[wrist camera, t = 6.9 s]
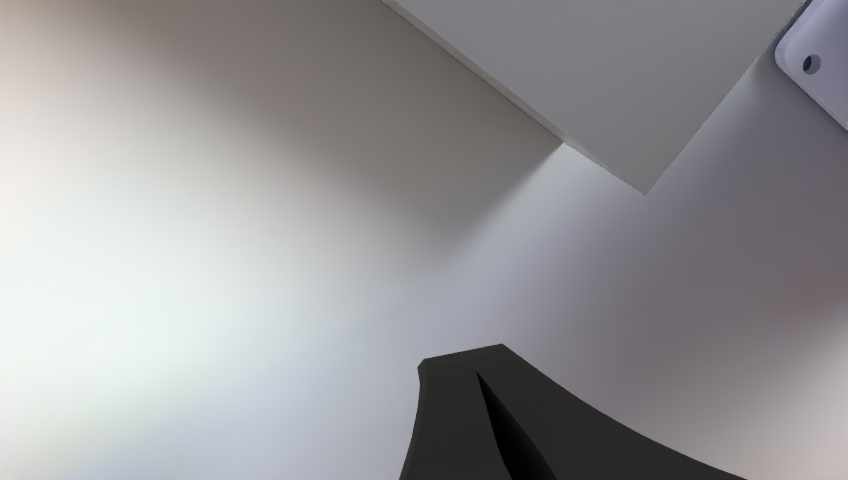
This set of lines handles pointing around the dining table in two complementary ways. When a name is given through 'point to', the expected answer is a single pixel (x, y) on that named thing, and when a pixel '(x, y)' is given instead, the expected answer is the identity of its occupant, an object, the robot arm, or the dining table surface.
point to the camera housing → (607, 66)
